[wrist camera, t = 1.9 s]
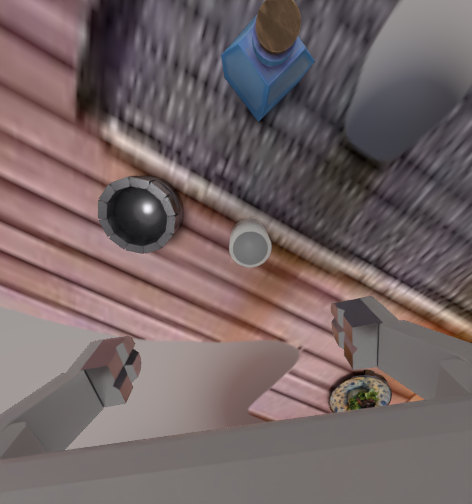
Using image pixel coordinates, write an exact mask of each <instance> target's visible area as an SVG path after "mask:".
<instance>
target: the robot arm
mask: <svg viewBox="0 0 472 504" xmlns="http://www.w3.org/2000/svg"><path fill="white" fill-rule="evenodd" d="M331 313H332V315H333V316H334V319H333V321H332V330H333V334H334V337H335V340H336V342H337V344H338V345H339V347H341V348H343V349H344V356H345V357H346V359H347V361H348V362H349V364H350V366H351V367H352V369H353V370H356V369H364V368H373V367H378V368H379V369H380V370H382V371H383V372H385V373H386V374H388V375H389V376H391V377H392V378H394V379H395V380H397V381H398V382H400V383H401V384H403V385H404V386H406V387H407V388H408V389H410V390H411V391H413V392H414V393H416V394H417V395H419V396H420V397H422V398H423V399H425V400H422V401H414V402H407V403H400V404H393V405H386V406H379V407H372V408H365V409H358V410H351V411H344V412H336V413H329V414H322V415H315V416H307V417H300V418H293V419H286V420H278V421H271V422H264V423H257V424H250V425H242V426H236V427H228V428H221V429H214V430H207V431H200V432H193V433H185V434H179V435H171V436H164V437H157V438H150V439H143V440H135V441H128V442H121V443H114V444H107V445H100V446H93V447H85V448H78V449H72V450H65V449H66V448H67V447H68V446H69V445H70V444H71V443H72V442H73V441H74V440H75V438H76V437H77V436H78V435H79V434H80V433H81V432H82V431H83V430H84V429H85V428H86V427H87V426H88V425H89V424H90V422H91V421H92V420H93V419H94V418H95V417H96V416H97V415H98V414H99V413H100V412H101V411H102V410H103V407H108V406H114V405H120V404H125V403H126V402H127V400H128V397H129V395H130V393H131V391H132V389H133V386H132V382H133V381H134V380H135V379H136V378H137V377H138V375H139V373H140V370H141V357H140V355H139V352H137V351H136V350H134V349H133V348H134V345H135V343H134V340H133V338H132V337H130V336H125V337H118V338H111V339H106V340H98V341H94V342H91V343H90V344H89V345H88V346H87V348H86V349H85V350H84V351H83V353H82V354H81V355H80V356H79V357H78V359H77V360H76V361H75V362H74V364H73V365H72V366H71V367H70V368H69V370H68V371H67V372H66V373H62V374H60V375H59V376H57V377H56V378H54V379H53V380H52V381H50V382H48V383H47V384H45V385H44V386H42V387H41V388H39V389H38V390H36V391H35V392H33V393H32V394H30V395H29V396H27V397H26V398H24V399H23V400H22V401H20V402H19V403H17V404H15V405H14V406H12V407H11V408H9V409H8V410H6V411H5V412H3V413H2V414H0V504H472V344H471V343H468V342H465V341H463V340H460V339H457V338H454V337H451V336H448V335H445V334H443V333H440V332H437V331H434V330H431V329H428V328H425V327H423V326H420V325H417V324H414V323H411V322H408V321H405V320H400V321H399V320H398V319H397V318H396V317H395V316H394V315H393V314H392V313H391V312H389V311H388V310H387V309H386V308H385V307H384V306H383V305H382V304H381V303H380V302H378V301H377V300H376V299H375V298H374V297H372V296H368V297H363V298H358V299H354V300H348V301H342V302H337V303H332V304H331Z"/></svg>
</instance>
